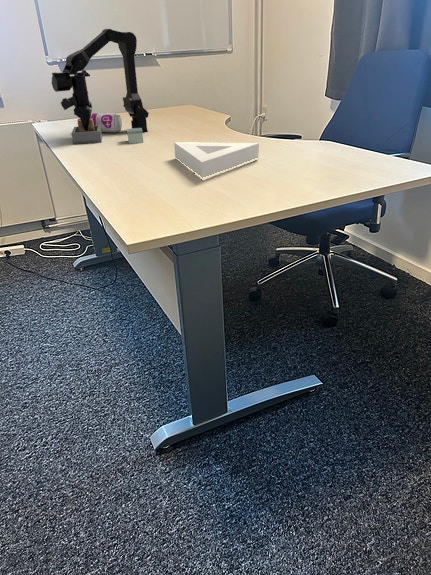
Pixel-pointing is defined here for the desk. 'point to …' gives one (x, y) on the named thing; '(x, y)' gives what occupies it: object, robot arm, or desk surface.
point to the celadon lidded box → (135, 135)
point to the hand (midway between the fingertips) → (86, 129)
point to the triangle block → (214, 155)
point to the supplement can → (107, 121)
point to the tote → (87, 136)
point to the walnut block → (90, 127)
